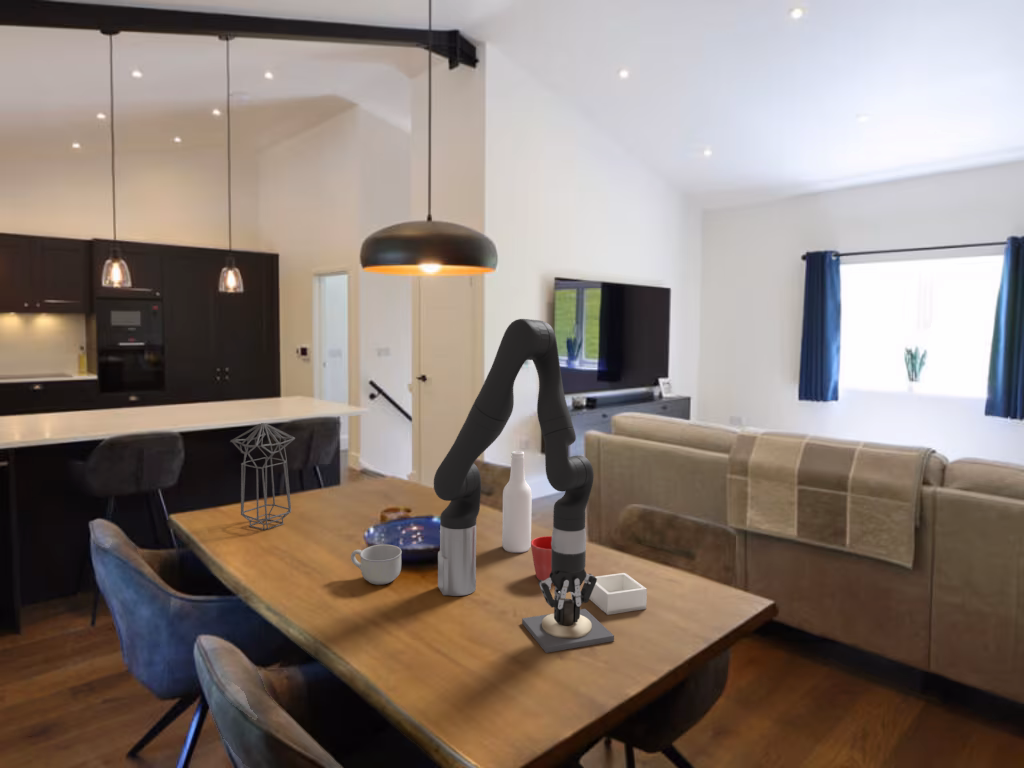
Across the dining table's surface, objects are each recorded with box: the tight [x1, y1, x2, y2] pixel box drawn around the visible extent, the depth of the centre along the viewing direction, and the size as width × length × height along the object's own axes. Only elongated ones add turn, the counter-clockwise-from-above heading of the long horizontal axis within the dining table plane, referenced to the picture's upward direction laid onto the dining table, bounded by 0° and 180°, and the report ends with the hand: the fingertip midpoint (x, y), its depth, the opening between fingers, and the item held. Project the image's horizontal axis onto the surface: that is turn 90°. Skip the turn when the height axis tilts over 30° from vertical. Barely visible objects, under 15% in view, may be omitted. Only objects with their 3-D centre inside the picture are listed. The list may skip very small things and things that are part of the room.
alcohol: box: [501, 450, 533, 554], centre depth 194 cm, size 9×9×30 cm
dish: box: [589, 572, 648, 616], centre depth 157 cm, size 11×11×5 cm
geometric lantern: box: [229, 422, 296, 531], centre depth 212 cm, size 16×16×35 cm
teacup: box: [350, 544, 403, 586], centre depth 169 cm, size 14×11×8 cm
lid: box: [542, 598, 592, 639], centre depth 141 cm, size 11×11×6 cm
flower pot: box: [530, 535, 552, 581], centre depth 172 cm, size 11×11×10 cm
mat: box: [521, 608, 615, 654], centre depth 141 cm, size 16×14×1 cm
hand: (566, 621), depth 141 cm, fingers closed on lid, 3 cm apart
